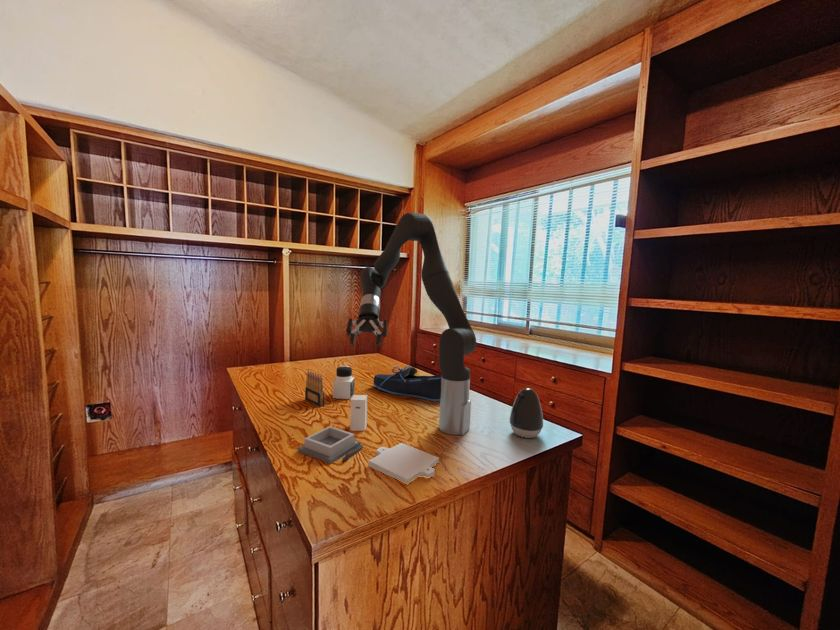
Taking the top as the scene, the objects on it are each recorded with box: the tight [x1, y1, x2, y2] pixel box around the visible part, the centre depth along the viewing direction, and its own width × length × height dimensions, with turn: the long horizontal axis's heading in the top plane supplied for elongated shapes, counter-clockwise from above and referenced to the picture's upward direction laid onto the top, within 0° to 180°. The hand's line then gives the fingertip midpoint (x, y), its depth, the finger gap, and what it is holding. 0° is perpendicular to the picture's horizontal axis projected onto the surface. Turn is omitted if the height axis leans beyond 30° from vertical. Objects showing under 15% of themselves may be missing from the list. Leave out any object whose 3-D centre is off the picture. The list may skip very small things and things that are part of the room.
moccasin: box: [373, 364, 441, 402], centre depth 146 cm, size 14×34×12 cm, turn 71°
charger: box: [349, 394, 368, 432], centre depth 110 cm, size 4×5×10 cm
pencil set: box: [304, 369, 325, 408], centre depth 130 cm, size 11×2×12 cm, turn 48°
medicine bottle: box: [332, 365, 356, 400], centre depth 139 cm, size 7×7×12 cm
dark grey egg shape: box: [509, 387, 544, 439], centre depth 109 cm, size 10×10×15 cm
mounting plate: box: [368, 442, 440, 484], centre depth 89 cm, size 18×13×2 cm
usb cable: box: [342, 444, 364, 462], centre depth 93 cm, size 9×1×1 cm, turn 156°
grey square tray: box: [297, 425, 362, 465], centre depth 96 cm, size 12×12×4 cm
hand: (365, 344), depth 119 cm, fingers open, 8 cm apart
